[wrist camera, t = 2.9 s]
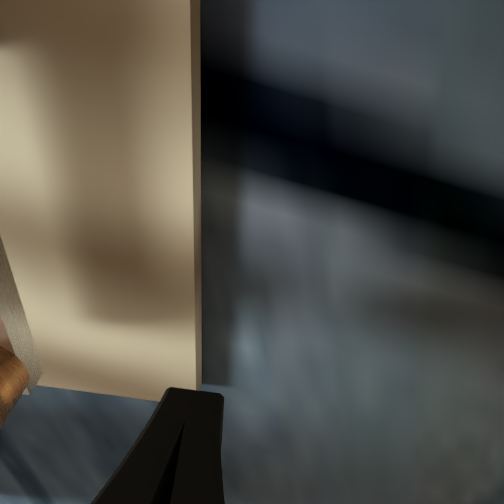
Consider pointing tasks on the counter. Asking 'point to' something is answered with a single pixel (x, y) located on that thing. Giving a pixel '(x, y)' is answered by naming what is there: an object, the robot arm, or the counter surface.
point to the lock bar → (14, 344)
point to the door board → (104, 189)
